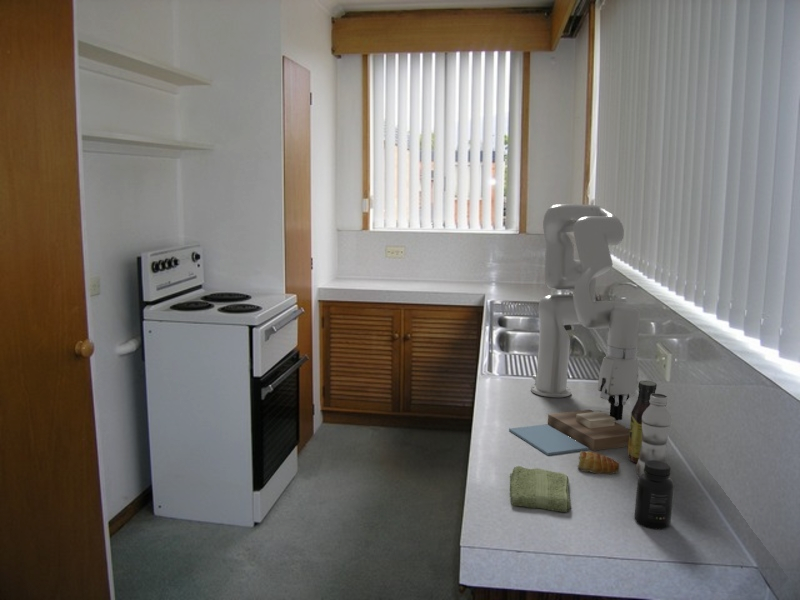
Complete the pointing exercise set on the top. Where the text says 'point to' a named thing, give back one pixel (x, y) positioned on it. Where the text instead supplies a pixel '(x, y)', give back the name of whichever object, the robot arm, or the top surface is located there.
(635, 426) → the sauce bottle
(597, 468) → the pastry
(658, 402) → the plastic bottle
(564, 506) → the washcloth
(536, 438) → the rubber mat
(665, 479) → the supplement bottle
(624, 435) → the walnut stand
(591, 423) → the birch tile
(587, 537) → the top surface
